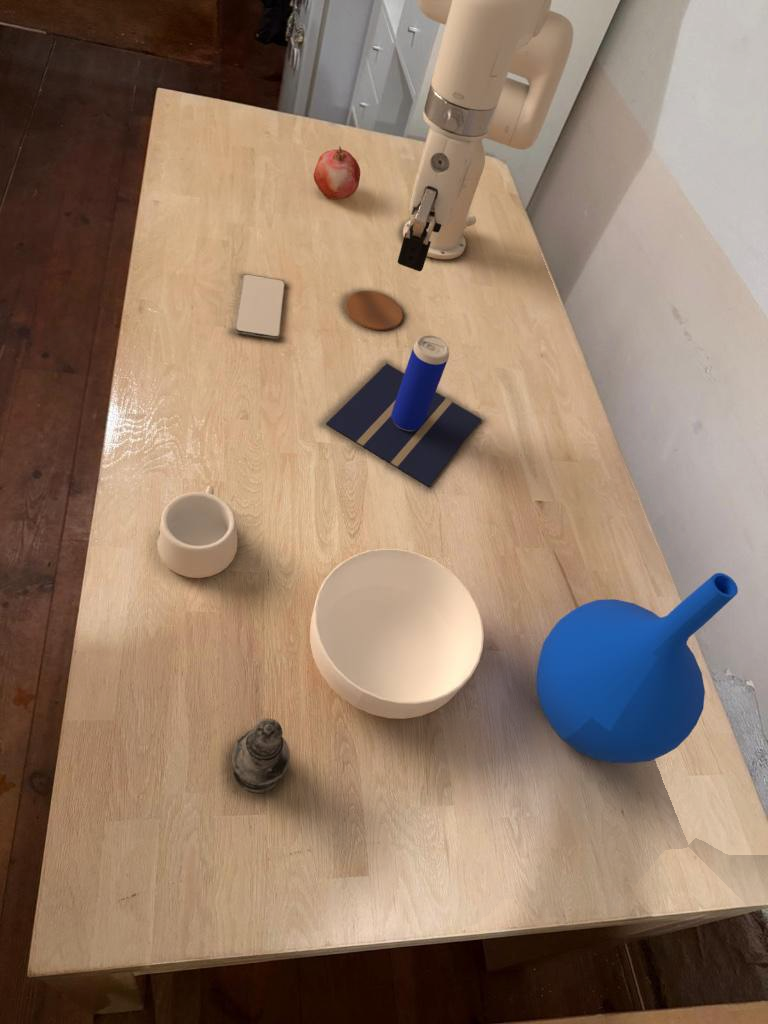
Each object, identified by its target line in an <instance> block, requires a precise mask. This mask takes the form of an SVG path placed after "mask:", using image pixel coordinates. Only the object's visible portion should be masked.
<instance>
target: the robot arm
mask: <svg viewBox="0 0 768 1024" xmlns="http://www.w3.org/2000/svg"><path fill="white" fill-rule="evenodd" d="M417 5H418V7H419V9H420V11H421V12H422V14H424V16H425V17H426V18H428V19H430V20H432V21H434V22H436V23H439V24H442V25H444V26H445V28H444V31H443V34H442V39H441V42H440V46H439V50H438V54H437V58H436V61H435V65H434V69H433V73H432V77H431V81H430V85H429V89H428V93H427V97H426V100H425V104H424V108H423V112H422V118H423V121H424V122H425V123H426V125H427V126H429V129H428V133H427V135H426V136H427V137H426V140H425V143H424V147H423V151H422V154H421V158H420V162H419V166H418V169H417V174H416V177H415V182H414V185H413V189H412V194H411V198H410V202H409V208H408V211H409V213H410V214H411V215H412V216H411V219H408V220H407V221H406V222H405V223H404V224H403V225H404V226H403V228H402V237H403V240H402V243H401V247H400V250H399V254H398V258H397V264H399V265H400V266H402V267H406V268H409V269H411V270H414V271H416V272H422V271H423V270H424V267H425V263H426V259H427V257H428V258H432V259H436V260H452V259H455V258H458V257H460V256H461V255H462V254H463V253H464V251H465V248H466V245H467V242H466V238H465V237H464V235H463V233H464V231H465V230H466V229H467V227H470V226H471V227H472V226H473V225H475V224H476V222H477V217H476V216H475V215H474V214H469V212H470V209H471V206H472V203H473V200H474V198H475V194H476V192H477V188H478V186H479V182H480V179H481V177H482V174H483V171H484V169H485V164H486V151H485V147H484V144H483V141H482V140H484V139H487V140H489V141H493V142H494V143H498V144H501V145H505V146H507V147H510V148H513V149H517V150H527V149H530V148H531V147H532V146H533V145H534V144H535V142H536V141H537V139H538V138H539V135H540V133H541V131H542V128H543V126H544V124H545V121H546V118H547V115H548V114H549V110H550V108H551V105H552V103H553V100H554V98H555V94H556V93H557V89H558V87H559V85H560V81H561V79H562V76H563V74H564V70H565V68H566V66H567V63H568V60H569V57H570V53H571V51H572V47H573V46H572V45H573V42H574V28H573V27H574V26H573V25H572V22H571V21H570V20H569V18H568V17H566V16H564V15H563V14H560V13H558V12H555V11H553V10H550V9H551V7H552V6H551V5H552V0H417ZM509 73H510V74H512V75H516V76H518V77H520V78H524V79H526V81H527V83H528V84H527V83H524V82H521V81H518V80H515V79H514V78H513V79H512V78H510V77H508V74H509Z"/></svg>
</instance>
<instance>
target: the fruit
mask: <svg viewBox="0 0 768 1024" xmlns="http://www.w3.org/2000/svg"><path fill="white" fill-rule="evenodd" d="M313 180H314V183H315V185H316V186H317V188H318V190H319V192H321V194H322V195H323V196H324V197H325V198H327V199H331V200H343V199H347V198H348V199H349V198H350V197H352V196H353V195H354V194H355V193H356V192H357V190H358V188H359V184H360V181H361V168H360V165H359V163H358V161H357V159H356V158H355V157H354V156H353V154H351V153H350V152H349V151H347V150H345V149H342V147H341V145H339V148H338V149H330V150H327V151H325V152H322V154H321V155H320V156H319V157H318V161H317V163H316V166H315V168H314V171H313Z"/></svg>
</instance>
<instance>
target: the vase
mask: <svg viewBox="0 0 768 1024" xmlns="http://www.w3.org/2000/svg"><path fill="white" fill-rule="evenodd" d="M738 593H739V588H738V585H737V583H736V582H735V580H734V579H733V578H732V577H731V576H729V575H728V574H726V573H723V572H716V573H714V574H712V575H711V576H710V577H709V578H707V580H706V581H704V582H703V583H702V584H701V585H700V586H698V587H697V588H696V589H695V590H693V592H691V593H690V594H689V595H688V596H687V597H686V598H685V599H683V600H682V601H681V602H679V604H677V605H676V606H675V608H673V609H672V610H671V611H670V612H669V613H668V614H667V615H664V616H662V617H660V616H659V615H657V614H655V613H654V612H653V611H652V610H650V609H647V608H645V607H643V606H640V605H639V604H636V603H634V602H629V601H624V600H621V599H616V598H615V599H614V598H613V599H612V598H611V599H610V598H609V599H596V600H594V601H590V602H588V603H584V604H581V605H580V606H578V607H576V608H574V609H573V610H571V611H570V612H568V613H567V614H565V615H564V616H563V617H562V618H560V619H559V620H558V621H557V622H556V623H555V625H554V626H553V627H552V629H551V630H550V632H549V634H548V635H547V636H546V637H545V639H544V640H543V643H542V646H541V650H540V654H539V658H538V664H537V670H536V692H537V696H538V700H539V703H540V704H539V705H540V707H541V710H542V711H543V713H544V715H545V717H546V719H547V721H548V723H549V725H550V726H551V728H552V729H553V730H554V731H555V733H556V734H557V735H558V736H559V737H560V738H561V740H563V741H564V742H565V743H566V744H568V745H569V746H571V747H572V748H573V749H575V750H576V751H577V752H579V753H581V754H583V755H585V756H587V757H590V758H592V759H594V760H596V761H600V762H606V763H612V764H634V763H635V764H636V763H644V762H653V761H654V760H656V759H658V758H661V757H662V756H665V755H667V754H669V753H670V752H672V751H674V750H675V749H677V748H678V747H679V746H680V745H681V744H682V743H683V742H684V741H685V740H686V739H687V738H688V737H689V736H690V734H691V733H693V731H694V729H695V727H696V726H697V724H698V722H699V720H700V717H701V715H702V713H703V711H704V706H705V695H706V690H705V684H704V679H703V673H702V671H701V667H700V665H699V663H698V661H697V658H696V656H695V653H694V652H693V651H692V650H691V647H689V645H688V640H690V638H691V637H692V636H693V635H694V634H695V633H696V632H697V631H699V630H700V629H701V628H702V627H704V625H706V623H708V622H709V621H710V620H711V619H712V618H713V617H714V616H715V615H716V614H717V613H718V612H720V610H722V609H723V608H724V607H725V606H726V605H727V604H728V603H729V602H730V601H732V599H734V597H736V596H737V595H738Z"/></svg>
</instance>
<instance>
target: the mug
mask: <svg viewBox="0 0 768 1024" xmlns="http://www.w3.org/2000/svg"><path fill="white" fill-rule="evenodd" d="M214 491H215V489H214V487H213V486H212V485H208V486H207V487H206V489H205V492H203V491H194V492H186V493H183V494H181V495H178V496H177V497H175V498H173V499H172V500H171V501H170V502H169V503H168V504H167V505H166V506H165V508H164V509H163V511H162V513H161V518H160V524H159V528H158V534H157V542H156V545H157V551H158V555H159V557H160V559H161V561H162V563H163V564H164V565H165V566H166V568H168V569H169V570H170V571H172V572H174V573H175V574H177V575H180V576H182V577H185V578H193V579H202V578H208V577H209V578H210V577H212V576H215V575H217V574H220V573H221V572H222V571H225V569H227V568H228V567H229V566H230V564H231V563H232V562H233V561H234V559H235V557H236V554H237V551H238V541H239V540H238V530H237V520H236V516H235V513H234V511H233V509H232V507H231V505H230V504H229V503H228V502H226V501H225V500H224V499H223V498H221V497H219V496H217V495H215V493H214Z"/></svg>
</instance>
